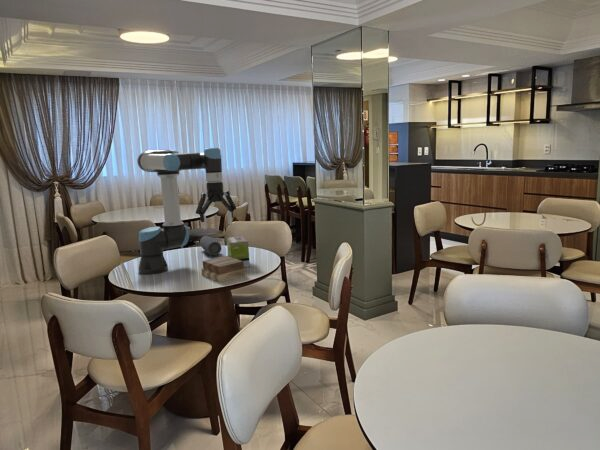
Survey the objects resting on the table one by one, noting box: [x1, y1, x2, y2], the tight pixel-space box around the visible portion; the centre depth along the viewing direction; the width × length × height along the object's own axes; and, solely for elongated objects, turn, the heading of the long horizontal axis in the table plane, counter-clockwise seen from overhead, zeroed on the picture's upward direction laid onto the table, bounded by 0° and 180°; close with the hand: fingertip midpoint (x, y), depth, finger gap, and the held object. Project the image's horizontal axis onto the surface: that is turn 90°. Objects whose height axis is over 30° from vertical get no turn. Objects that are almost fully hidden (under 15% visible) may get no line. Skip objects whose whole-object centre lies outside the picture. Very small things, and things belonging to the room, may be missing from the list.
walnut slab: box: [202, 255, 245, 275], centre depth 222 cm, size 17×14×4 cm
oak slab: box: [201, 267, 246, 283], centre depth 222 cm, size 18×15×4 cm
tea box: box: [226, 235, 251, 268], centre depth 241 cm, size 15×10×15 cm, turn 17°
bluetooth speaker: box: [199, 235, 222, 256], centre depth 271 cm, size 23×9×10 cm, turn 25°
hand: (217, 226), depth 205 cm, fingers open, 13 cm apart
